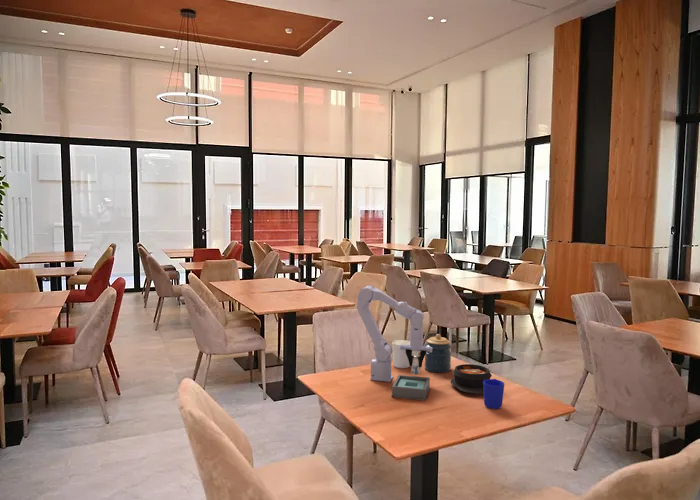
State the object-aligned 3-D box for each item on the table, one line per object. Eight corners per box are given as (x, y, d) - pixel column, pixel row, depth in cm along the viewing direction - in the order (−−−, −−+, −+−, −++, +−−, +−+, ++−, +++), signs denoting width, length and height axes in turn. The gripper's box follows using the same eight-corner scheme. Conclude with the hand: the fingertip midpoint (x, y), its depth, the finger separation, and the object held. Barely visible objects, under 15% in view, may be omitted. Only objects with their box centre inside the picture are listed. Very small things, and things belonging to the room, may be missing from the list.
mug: (504, 401, 207) (505, 377, 206) (503, 411, 196) (504, 387, 195) (483, 398, 210) (484, 375, 209) (481, 409, 199) (482, 384, 198)
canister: (444, 374, 240) (445, 338, 239) (420, 370, 247) (420, 334, 246) (454, 368, 251) (455, 333, 250) (430, 363, 258) (431, 329, 257)
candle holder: (388, 365, 253) (388, 342, 253) (399, 361, 261) (400, 339, 260) (403, 370, 247) (404, 346, 246) (415, 365, 254) (415, 342, 253)
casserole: (449, 377, 237) (449, 359, 237) (489, 379, 234) (490, 361, 234) (451, 396, 213) (452, 376, 212) (496, 399, 210) (497, 379, 209)
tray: (391, 397, 211) (392, 386, 210) (398, 384, 226) (398, 374, 226) (425, 400, 207) (425, 389, 207) (429, 387, 222) (429, 377, 222)
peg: (410, 374, 228) (411, 356, 228) (411, 371, 232) (412, 354, 232) (419, 374, 227) (419, 357, 227) (420, 372, 231) (420, 355, 230)
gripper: (399, 337, 226) (398, 367, 227) (431, 340, 223) (430, 370, 224) (401, 334, 233) (401, 362, 234) (433, 336, 229) (432, 365, 230)
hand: (415, 366), depth 229 cm, fingers closed on peg, 4 cm apart
